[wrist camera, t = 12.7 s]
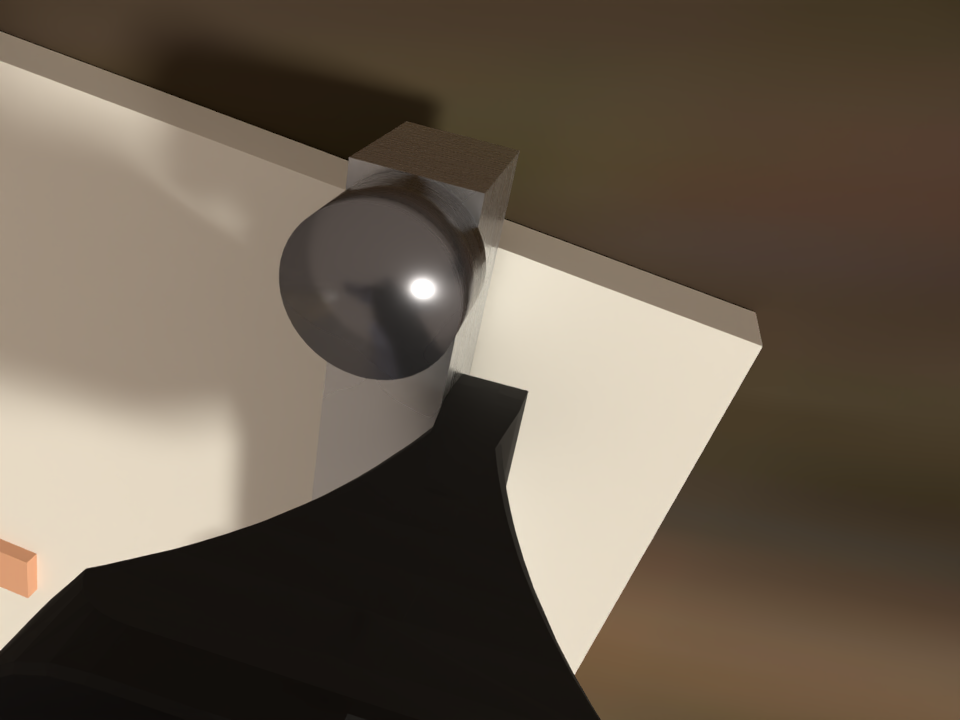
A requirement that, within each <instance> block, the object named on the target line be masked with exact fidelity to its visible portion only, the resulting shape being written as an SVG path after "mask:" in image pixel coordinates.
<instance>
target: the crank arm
mask: <svg viewBox="0 0 960 720" xmlns="http://www.w3.org/2000/svg"><path fill="white" fill-rule="evenodd" d="M518 155H519V150H515V149H511V148H507V147H503V146H500V145H496V144H492V143H488V142H484V141H481V140H477V139H473V138H469V137H465V136H461V135H458V134H454V133H450V132H446V131H442V130H438V129H435V128H431V127H427V126H423V125H419V124H415V123H412V122H408V121H406V122H405V123H403V124H401V125H400V126H398V127H397V128H395V129H393V130H392V131H390V132H389V133H387V134H385V135H384V136H382V137H380V138H379V139H377V140H376V141H374V142H372V143H371V144H369V145H368V146H366V147H364V148H363V149H361V150H360V151H358V152H356V153H355V154H353V155H352V156H350V157H349V162H348V171H347V180H346V190H345V191H344V192H342V193H341V194H340V195H338V196H337V197H335V198H334V199H333V200H331V201H330V202H328V203H327V204H326V205H324V206H323V207H321V208H320V209H319V210H317V211H316V212H314V213H313V214H312V215H310V216H309V217H308V218H306V219H305V220H304V221H303V222H301V223H300V225H299V226H298V227H297V228H296V229H295V230H294V231H293V233H292V234H291V236H290V237H289V239H288V241H287V243H286V245H285V247H284V250H283V253H282V257H281V260H280V267H279V286H280V294H281V297H282V301H283V305H284V308H285V310H286V313H287V315H288V317H289V319H290V321H291V323H292V325H293V327H294V328H295V330H296V331H297V333H298V334H299V335H300V337H301V338H302V339H303V340H304V342H305V343H306V344H307V345H308V346H309V347H310V348H311V349H312V350H313V351H314V352H315V353H316V354H318V355H319V356H320V357H321V358H323V359H324V360H325V361H327V364H326V373H325V382H324V392H323V401H322V410H321V419H320V428H319V437H318V447H317V456H316V465H315V474H314V483H313V493H312V500H315V499H317V498H319V497H321V496H323V495H325V494H327V493H329V492H331V491H333V490H335V489H337V488H339V487H341V486H342V485H344V484H346V483H348V482H350V481H352V480H353V479H355V478H357V477H359V476H360V475H362V474H364V473H366V472H367V471H369V470H371V469H372V468H374V467H376V466H377V465H379V464H380V463H382V462H383V461H385V460H386V459H388V458H389V457H391V456H392V455H394V454H395V453H397V452H398V451H400V450H401V449H403V448H405V447H406V446H408V445H409V444H410V443H412V442H413V441H415V440H416V439H417V438H419V437H420V436H421V435H423V434H424V433H425V432H427V431H428V430H429V429H430V428H432V427H433V425H434V423H435V420H436V418H437V415H438V413H439V410H440V408H441V406H442V403H443V401H444V398H445V397H446V395H447V394H448V392H449V391H450V389H451V388H452V387H453V385H454V384H455V382H456V381H457V380H458V379H459V378H460V377H461V375H462V374H467V375H470V371H471V366H472V362H473V357H474V353H475V348H476V344H477V339H478V335H479V330H480V326H481V321H482V317H483V312H484V308H485V303H486V299H487V295H488V290H489V286H490V281H491V277H492V272H493V268H494V263H495V259H496V254H497V250H498V245H499V241H500V236H501V232H502V227H503V223H504V218H505V214H506V209H507V205H508V200H509V196H510V191H511V187H512V182H513V178H514V173H515V169H516V164H517V160H518Z"/></svg>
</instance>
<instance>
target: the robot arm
mask: <svg viewBox="0 0 960 720" xmlns="http://www.w3.org/2000/svg"><path fill="white" fill-rule="evenodd" d="M527 395H528V391H527V390H523V389H519V388H515V387H512V386H508V385H504V384H500V383H497V382H493V381H489V380H485V379H482V378H478V377H474V376H470V375H467V374H462V375H461V377H460V378H459V379H458V380H457V381H456V382H455V384H454V385H453V387H452V388H451V389H450V391H449V392H448V394H447V395H446V397H445V398H444V401H443V403H442V406H441V408H440V410H439V413H438V415H437V418H436V420H435V423H434V425H433V427H432V428H430V429H429V430H428V431H427V432H425V433H424V434H423V435H421V436H420V437H419V438H417V439H416V440H415V441H413V442H412V443H410V444H409V445H408V446H406V447H405V448H403V449H401V450H400V451H398V452H397V453H395V454H394V455H392V456H391V457H389V458H388V459H386V460H385V461H383V462H382V463H380V464H379V465H377V466H376V467H374V468H372V469H371V470H369V471H367V472H366V473H364V474H362V475H360V476H359V477H357V478H355V479H353V480H352V481H350V482H348V483H346V484H344V485H342V486H341V487H339V488H337V489H335V490H333V491H331V492H329V493H327V494H325V495H323V496H321V497H319V498H317V499H315V500H312V501H310V502H308V503H306V504H303V505H301V506H299V507H296V508H294V509H291V510H289V511H287V512H284V513H282V514H279V515H277V516H275V517H272V518H270V519H267V520H265V521H262V522H259V523H257V524H254V525H251V526H248V527H245V528H242V529H239V530H236V531H233V532H230V533H227V534H224V535H221V536H217V537H214V538H211V539H207V540H204V541H201V542H197V543H194V544H190V545H187V546H183V547H179V548H176V549H172V550H168V551H163V552H159V553H154V554H150V555H146V556H141V557H137V558H132V559H128V560H124V561H119V562H115V563H110V564H106V565H101V566H96V567H90V568H86V569H85V570H84V571H83V572H81V573H80V574H79V575H78V576H77V577H76V578H75V579H74V580H73V581H71V582H70V583H69V584H68V585H67V586H65V587H64V588H63V589H62V590H61V591H60V592H58V593H57V594H56V595H55V596H54V597H53V598H51V599H50V600H49V601H48V602H47V603H46V604H45V605H44V606H43V607H42V608H41V609H40V610H39V611H38V612H37V613H36V614H35V615H34V616H33V617H32V618H31V619H30V620H29V621H28V622H27V624H26V625H25V626H24V627H23V628H22V629H21V630H20V631H19V632H18V633H17V634H16V635H15V636H14V637H13V638H12V639H11V640H10V641H9V642H8V643H7V644H6V645H5V646H4V647H3V648H2V649H1V650H0V720H600V718H599V716H598V715H597V713H596V711H595V710H594V708H593V707H592V705H591V703H590V701H589V700H588V698H587V696H586V695H585V693H584V691H583V689H582V688H581V686H580V684H579V682H578V681H577V679H576V677H575V675H574V673H573V671H572V669H571V667H570V666H569V664H568V662H567V660H566V658H565V656H564V654H563V652H562V650H561V648H560V646H559V644H558V642H557V640H556V638H555V636H554V633H553V631H552V629H551V626H550V624H549V622H548V620H547V617H546V615H545V613H544V610H543V608H542V606H541V603H540V601H539V599H538V597H537V594H536V592H535V590H534V587H533V584H532V581H531V578H530V576H529V573H528V570H527V567H526V564H525V561H524V558H523V555H522V552H521V548H520V545H519V541H518V538H517V535H516V531H515V527H514V523H513V519H512V514H511V510H510V505H509V499H508V494H507V489H506V485H507V481H508V477H509V472H510V468H511V464H512V460H513V455H514V451H515V447H516V443H517V438H518V434H519V430H520V425H521V421H522V417H523V413H524V408H525V404H526V400H527Z"/></svg>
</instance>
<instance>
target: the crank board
mask: <svg viewBox="0 0 960 720" xmlns="http://www.w3.org/2000/svg"><path fill="white" fill-rule="evenodd" d="M348 162H349V161H347V160H345V159H342V158H339V157H336V156H334V155H331V154H328V153H326V152H323V151H320V150H318V149H315V148H312V147H310V146H307V145H304V144H302V143H299V142H296V141H294V140H291V139H288V138H285V137H283V136H280V135H277V134H275V133H272V132H269V131H267V130H264V129H261V128H259V127H256V126H253V125H251V124H248V123H245V122H243V121H240V120H237V119H234V118H232V117H229V116H226V115H224V114H221V113H218V112H216V111H213V110H210V109H208V108H205V107H202V106H200V105H197V104H194V103H191V102H189V101H186V100H183V99H181V98H178V97H175V96H173V95H170V94H167V93H165V92H162V91H159V90H157V89H154V88H151V87H149V86H146V85H143V84H140V83H138V82H135V81H132V80H130V79H127V78H124V77H122V76H119V75H116V74H114V73H111V72H108V71H106V70H103V69H100V68H97V67H95V66H92V65H89V64H87V63H84V62H81V61H79V60H76V59H73V58H71V57H68V56H65V55H63V54H60V53H57V52H55V51H52V50H49V49H46V48H44V47H41V46H38V45H36V44H33V43H30V42H28V41H25V40H22V39H20V38H17V37H14V36H12V35H9V34H6V33H3V32H1V31H0V650H1V649H2V648H3V647H4V646H5V645H6V644H7V643H8V642H9V641H10V640H11V639H12V638H13V637H14V636H15V635H16V634H17V633H18V632H19V631H20V630H21V629H22V628H23V627H24V626H25V625H26V624H27V622H28V621H29V620H30V619H31V618H32V617H33V616H34V615H35V614H36V613H37V612H38V611H39V610H40V609H41V608H42V607H43V606H44V605H45V604H46V603H47V602H48V601H49V600H50V599H51V598H53V597H54V596H55V595H56V594H57V593H58V592H60V591H61V590H62V589H63V588H64V587H65V586H67V585H68V584H69V583H70V582H71V581H73V580H74V579H75V578H76V577H77V576H78V575H79V574H80V573H81V572H83V571H84V570H85V569H86V568H90V567H96V566H101V565H106V564H110V563H115V562H119V561H124V560H128V559H132V558H137V557H141V556H146V555H150V554H154V553H159V552H163V551H168V550H172V549H176V548H179V547H183V546H187V545H190V544H194V543H197V542H201V541H204V540H207V539H211V538H214V537H217V536H221V535H224V534H227V533H230V532H233V531H236V530H239V529H242V528H245V527H248V526H251V525H254V524H257V523H259V522H262V521H265V520H267V519H270V518H272V517H275V516H277V515H279V514H282V513H284V512H287V511H289V510H291V509H294V508H296V507H299V506H301V505H303V504H306V503H308V502H310V501H312V493H313V483H314V474H315V465H316V456H317V447H318V437H319V428H320V419H321V410H322V401H323V392H324V382H325V373H326V364H327V361H325V360H324V359H323V358H321V357H320V356H319V355H318V354H316V353H315V352H314V351H313V350H312V349H311V348H310V347H309V346H308V345H307V344H306V343H305V342H304V340H303V339H302V338H301V337H300V335H299V334H298V333H297V331H296V330H295V328H294V327H293V325H292V323H291V321H290V319H289V317H288V315H287V313H286V310H285V308H284V305H283V301H282V297H281V294H280V286H279V267H280V260H281V257H282V253H283V250H284V247H285V245H286V243H287V241H288V239H289V237H290V236H291V234H292V233H293V231H294V230H295V229H296V228H297V227H298V226H299V225H300V223H301V222H303V221H304V220H305V219H306V218H308V217H309V216H310V215H312V214H313V213H314V212H316V211H317V210H319V209H320V208H321V207H323V206H324V205H326V204H327V203H328V202H330V201H331V200H333V199H334V198H335V197H337V196H338V195H340V194H341V193H342V192H344V191H345V190H346V180H347V171H348ZM761 348H762V341H761V337H760V332H759V327H758V322H757V317H756V313H755V312H753V311H750V310H747V309H745V308H742V307H739V306H737V305H734V304H731V303H729V302H726V301H723V300H721V299H718V298H715V297H712V296H710V295H707V294H704V293H702V292H699V291H696V290H694V289H691V288H688V287H686V286H683V285H680V284H678V283H675V282H672V281H669V280H667V279H664V278H661V277H659V276H656V275H653V274H651V273H648V272H645V271H643V270H640V269H637V268H635V267H632V266H629V265H627V264H624V263H621V262H618V261H616V260H613V259H610V258H608V257H605V256H602V255H600V254H597V253H594V252H592V251H589V250H586V249H584V248H581V247H578V246H576V245H573V244H570V243H567V242H565V241H562V240H559V239H557V238H554V237H551V236H549V235H546V234H543V233H541V232H538V231H535V230H533V229H530V228H527V227H524V226H522V225H519V224H516V223H514V222H511V221H508V220H506V219H504V223H503V227H502V232H501V236H500V241H499V245H498V250H497V254H496V259H495V263H494V268H493V272H492V277H491V281H490V286H489V290H488V295H487V299H486V303H485V308H484V312H483V317H482V321H481V326H480V330H479V335H478V339H477V344H476V348H475V353H474V357H473V362H472V366H471V371H470V376H474V377H478V378H482V379H485V380H489V381H493V382H497V383H500V384H504V385H508V386H512V387H515V388H519V389H523V390H527V391H528V395H527V400H526V404H525V408H524V413H523V417H522V421H521V425H520V430H519V434H518V438H517V443H516V447H515V451H514V455H513V460H512V464H511V468H510V472H509V477H508V481H507V485H506V489H507V494H508V499H509V505H510V510H511V514H512V519H513V523H514V527H515V531H516V535H517V538H518V541H519V545H520V548H521V552H522V555H523V558H524V561H525V564H526V567H527V570H528V573H529V576H530V578H531V581H532V584H533V587H534V590H535V592H536V594H537V597H538V599H539V601H540V603H541V606H542V608H543V610H544V613H545V615H546V617H547V620H548V622H549V624H550V626H551V629H552V631H553V633H554V636H555V638H556V640H557V642H558V644H559V646H560V648H561V650H562V652H563V654H564V656H565V658H566V660H567V662H568V664H569V666H570V667H571V669H572V671H573V673H574V675H575V673H576V671H577V669H578V668H579V666H580V664H581V662H582V661H583V659H584V657H585V655H586V654H587V652H588V650H589V648H590V647H591V645H592V643H593V641H594V640H595V638H596V636H597V634H598V633H599V631H600V629H601V627H602V626H603V624H604V622H605V620H606V619H607V617H608V615H609V613H610V612H611V610H612V608H613V606H614V605H615V603H616V601H617V600H618V598H619V596H620V594H621V593H622V591H623V589H624V587H625V586H626V584H627V582H628V580H629V579H630V577H631V575H632V573H633V572H634V570H635V568H636V566H637V565H638V563H639V561H640V559H641V558H642V556H643V554H644V552H645V551H646V549H647V547H648V545H649V544H650V542H651V540H652V538H653V537H654V535H655V533H656V531H657V530H658V528H659V526H660V524H661V523H662V521H663V519H664V517H665V516H666V514H667V512H668V510H669V509H670V507H671V505H672V504H673V502H674V500H675V498H676V497H677V495H678V493H679V491H680V490H681V488H682V486H683V484H684V483H685V481H686V479H687V477H688V476H689V474H690V472H691V470H692V469H693V467H694V465H695V463H696V462H697V460H698V458H699V456H700V455H701V453H702V451H703V449H704V448H705V446H706V444H707V442H708V441H709V439H710V437H711V435H712V434H713V432H714V430H715V428H716V427H717V425H718V423H719V421H720V420H721V418H722V416H723V414H724V413H725V411H726V409H727V407H728V406H729V404H730V402H731V401H732V399H733V397H734V395H735V394H736V392H737V390H738V388H739V387H740V385H741V383H742V381H743V380H744V378H745V376H746V374H747V373H748V371H749V369H750V367H751V366H752V364H753V362H754V360H755V359H756V357H757V355H758V353H759V352H760V350H761Z"/></svg>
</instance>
